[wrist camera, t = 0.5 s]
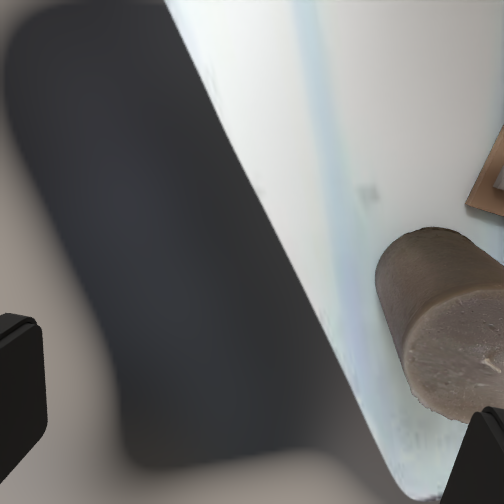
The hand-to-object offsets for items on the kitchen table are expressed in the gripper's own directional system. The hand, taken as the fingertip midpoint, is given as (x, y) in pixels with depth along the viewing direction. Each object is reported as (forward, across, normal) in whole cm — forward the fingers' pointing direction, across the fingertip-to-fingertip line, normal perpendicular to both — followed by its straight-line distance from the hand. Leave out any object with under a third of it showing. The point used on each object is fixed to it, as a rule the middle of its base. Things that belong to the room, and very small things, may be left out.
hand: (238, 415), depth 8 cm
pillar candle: (+29, -13, +6) cm, 33 cm away
